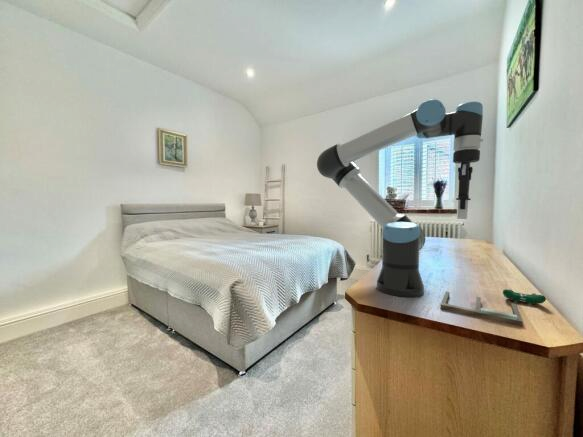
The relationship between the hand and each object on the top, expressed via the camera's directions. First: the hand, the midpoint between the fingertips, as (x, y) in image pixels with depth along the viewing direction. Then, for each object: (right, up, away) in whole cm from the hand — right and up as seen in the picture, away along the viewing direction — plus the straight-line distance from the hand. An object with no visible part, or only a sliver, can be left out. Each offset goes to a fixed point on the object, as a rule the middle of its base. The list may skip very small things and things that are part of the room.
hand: (462, 218), depth 86 cm
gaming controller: (+8, -24, -14) cm, 29 cm away
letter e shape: (-6, -26, -16) cm, 31 cm away
